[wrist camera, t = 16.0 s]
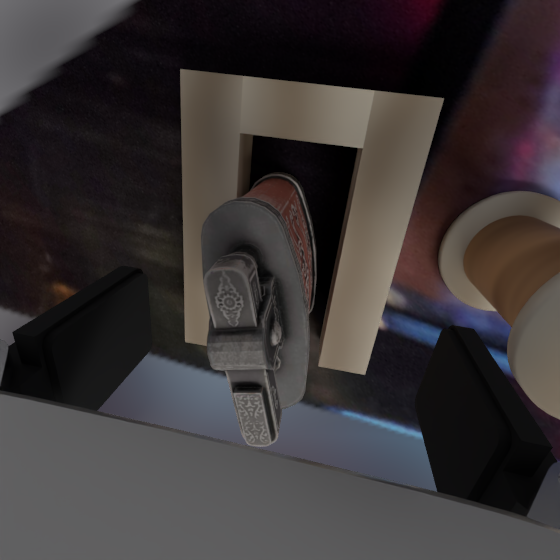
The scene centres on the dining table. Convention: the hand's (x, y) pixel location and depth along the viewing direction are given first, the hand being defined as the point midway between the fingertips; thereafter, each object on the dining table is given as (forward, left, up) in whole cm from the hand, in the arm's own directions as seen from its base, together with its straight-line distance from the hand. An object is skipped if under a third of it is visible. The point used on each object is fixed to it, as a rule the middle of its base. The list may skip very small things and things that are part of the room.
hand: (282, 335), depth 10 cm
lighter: (+1, 0, -8) cm, 8 cm away
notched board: (+1, -1, -8) cm, 8 cm away
